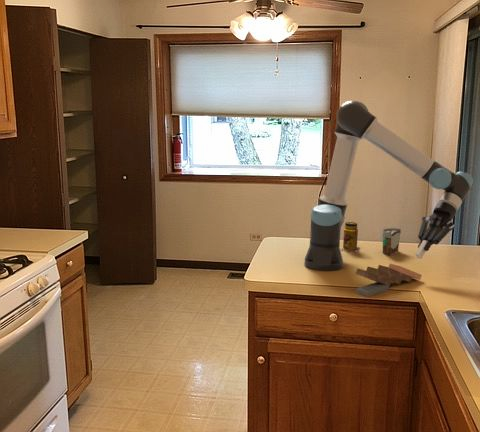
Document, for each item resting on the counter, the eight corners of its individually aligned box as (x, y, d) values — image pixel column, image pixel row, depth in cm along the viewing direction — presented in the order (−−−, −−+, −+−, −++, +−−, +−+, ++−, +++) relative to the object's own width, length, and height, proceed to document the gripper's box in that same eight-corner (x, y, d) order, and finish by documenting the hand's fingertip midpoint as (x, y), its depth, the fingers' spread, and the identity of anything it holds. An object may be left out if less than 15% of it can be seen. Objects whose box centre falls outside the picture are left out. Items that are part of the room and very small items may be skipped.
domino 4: (410, 282, 191) (386, 272, 186) (400, 279, 196) (377, 270, 191) (412, 277, 191) (388, 267, 186) (402, 274, 196) (378, 264, 191)
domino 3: (400, 284, 188) (374, 274, 184) (390, 281, 193) (365, 271, 188) (401, 278, 189) (376, 268, 184) (392, 276, 193) (367, 266, 188)
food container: (385, 248, 240) (387, 226, 238) (399, 250, 236) (401, 228, 234) (375, 253, 230) (377, 231, 228) (389, 256, 226) (391, 233, 224)
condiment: (340, 250, 235) (342, 223, 232) (344, 245, 243) (345, 220, 240) (357, 252, 232) (358, 225, 230) (360, 247, 240) (362, 221, 238)
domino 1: (389, 286, 186) (364, 276, 181) (380, 283, 190) (355, 273, 185) (391, 280, 186) (366, 270, 181) (381, 277, 191) (357, 268, 185)
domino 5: (420, 280, 194) (398, 271, 188) (409, 277, 199) (388, 268, 193) (421, 274, 194) (400, 266, 189) (411, 272, 199) (389, 263, 193)
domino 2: (388, 291, 185) (367, 298, 177) (376, 287, 189) (355, 294, 181) (389, 285, 184) (367, 292, 177) (377, 281, 188) (355, 288, 181)
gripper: (466, 216, 200) (437, 266, 193) (434, 210, 210) (406, 258, 203) (460, 203, 195) (430, 254, 188) (428, 198, 205) (399, 246, 198)
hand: (418, 256), depth 196 cm, fingers closed
